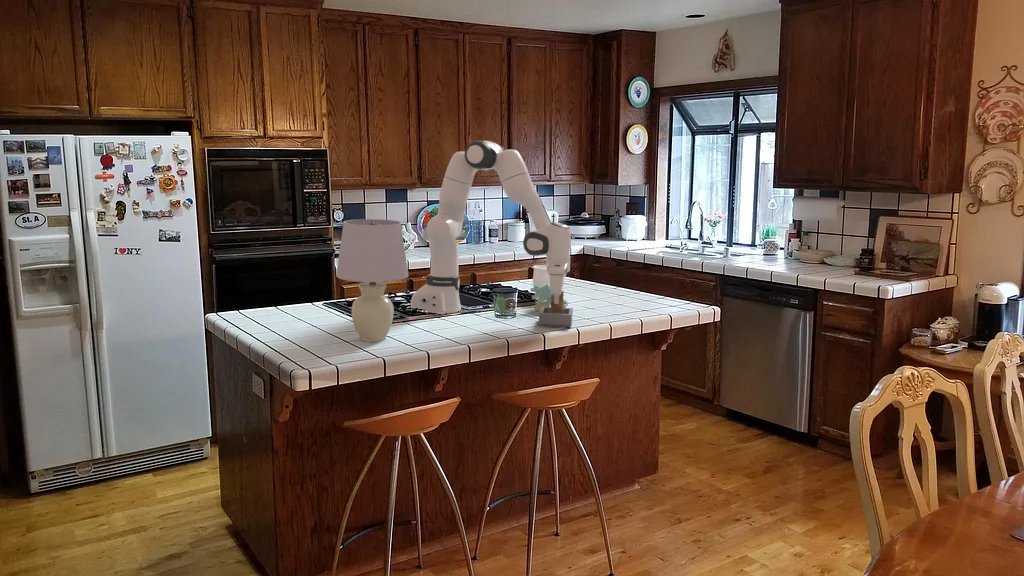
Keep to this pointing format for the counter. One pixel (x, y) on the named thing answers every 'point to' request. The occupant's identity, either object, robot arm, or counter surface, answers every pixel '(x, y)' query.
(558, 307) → the tan wooden brick
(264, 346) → the counter surface
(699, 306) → the counter surface
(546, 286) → the toy
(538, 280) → the jar
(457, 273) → the robot arm
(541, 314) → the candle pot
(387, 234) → the lamp
